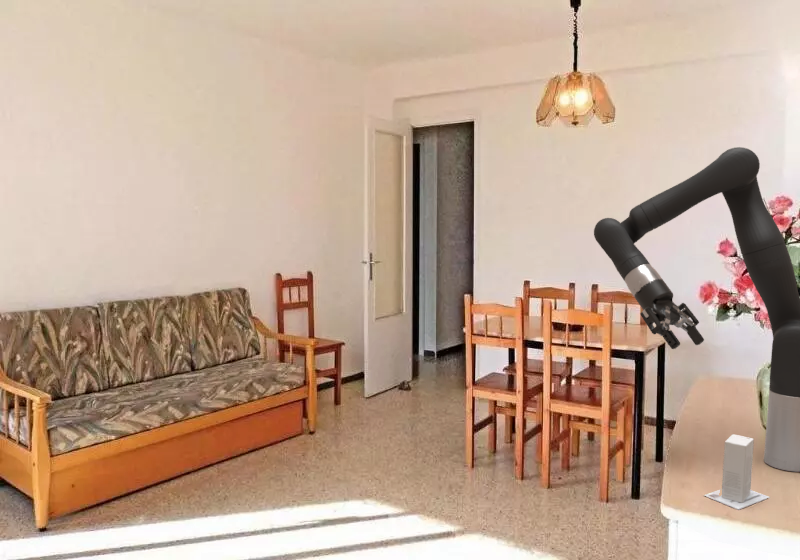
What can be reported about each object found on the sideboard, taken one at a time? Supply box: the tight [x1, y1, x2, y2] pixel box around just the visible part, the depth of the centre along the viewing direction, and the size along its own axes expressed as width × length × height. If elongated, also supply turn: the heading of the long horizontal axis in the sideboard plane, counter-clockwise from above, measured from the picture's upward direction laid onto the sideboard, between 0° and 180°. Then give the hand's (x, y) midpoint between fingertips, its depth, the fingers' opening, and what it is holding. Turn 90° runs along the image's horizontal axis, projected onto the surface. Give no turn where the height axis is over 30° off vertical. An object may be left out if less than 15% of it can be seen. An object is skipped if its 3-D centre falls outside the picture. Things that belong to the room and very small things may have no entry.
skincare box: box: [721, 433, 755, 503], centre depth 139 cm, size 6×4×12 cm
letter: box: [703, 488, 771, 511], centre depth 140 cm, size 11×8×1 cm
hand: (688, 345), depth 151 cm, fingers open, 8 cm apart
